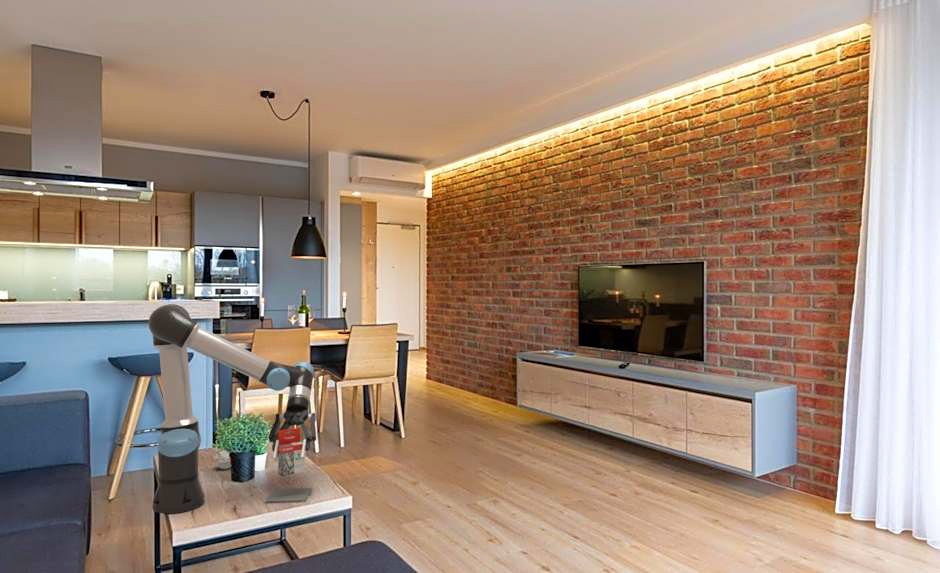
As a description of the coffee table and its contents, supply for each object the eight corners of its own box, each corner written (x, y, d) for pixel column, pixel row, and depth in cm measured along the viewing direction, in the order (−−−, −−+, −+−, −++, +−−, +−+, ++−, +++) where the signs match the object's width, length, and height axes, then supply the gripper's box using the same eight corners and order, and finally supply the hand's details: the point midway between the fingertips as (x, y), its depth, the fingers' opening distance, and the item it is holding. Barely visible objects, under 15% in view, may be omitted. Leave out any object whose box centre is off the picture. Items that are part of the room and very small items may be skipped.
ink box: (304, 472, 204) (304, 429, 204) (281, 476, 200) (280, 432, 200) (301, 469, 207) (300, 427, 207) (278, 473, 203) (277, 430, 203)
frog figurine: (220, 466, 237) (219, 448, 237) (237, 466, 236) (236, 449, 236) (211, 471, 231) (211, 453, 231) (229, 471, 230) (229, 453, 230)
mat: (265, 503, 197) (265, 501, 197) (274, 490, 209) (274, 488, 209) (305, 501, 198) (305, 500, 198) (312, 489, 210) (312, 487, 210)
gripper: (329, 406, 219) (322, 463, 204) (270, 408, 218) (258, 465, 202) (327, 394, 214) (319, 452, 198) (266, 396, 213) (253, 454, 197)
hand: (289, 459), depth 200 cm, fingers closed on ink box, 8 cm apart
